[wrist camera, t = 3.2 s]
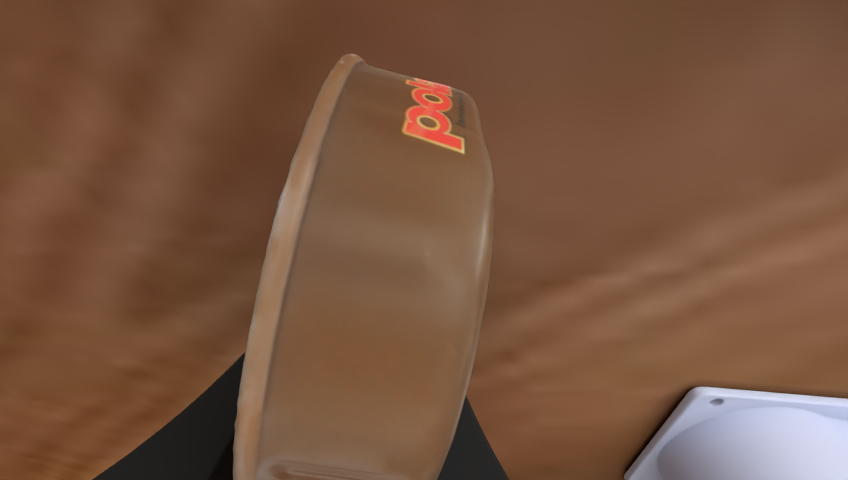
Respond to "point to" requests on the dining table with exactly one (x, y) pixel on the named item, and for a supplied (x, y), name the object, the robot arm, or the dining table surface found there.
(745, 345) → the dining table surface
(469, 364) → the tin
